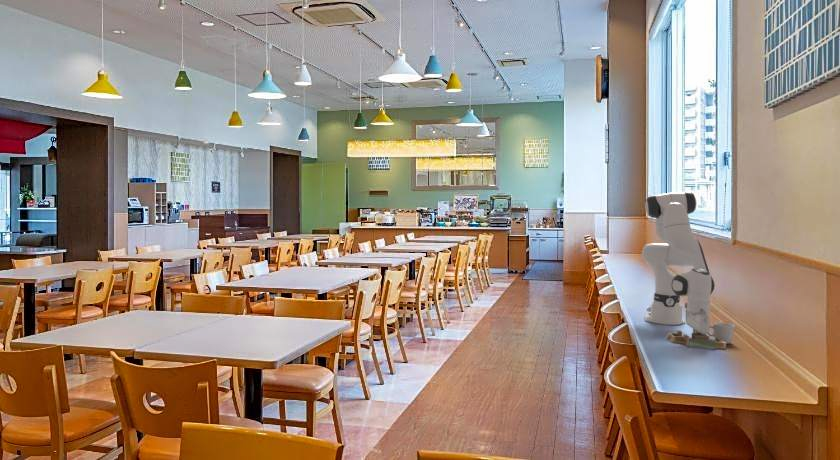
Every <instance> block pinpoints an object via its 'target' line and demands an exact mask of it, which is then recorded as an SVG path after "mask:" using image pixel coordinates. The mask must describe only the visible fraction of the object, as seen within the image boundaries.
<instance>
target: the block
mask: <svg viewBox="0 0 840 460" xmlns="http://www.w3.org/2000/svg"><path fill="white" fill-rule="evenodd" d="M707 335H708V334H707ZM707 335H706V334H701V333H693V332H691V336H690V338H692V339H708V336H709V335H708V336H707Z"/></svg>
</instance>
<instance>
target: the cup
mask: <svg viewBox="0 0 840 460" xmlns="http://www.w3.org/2000/svg"><path fill="white" fill-rule="evenodd" d="M735 326H736V325H735V324H732V323H729V322H728V323H727V322H715V323H714V324H711V325H710V329H711V328H712V329H713V333H710V332H709V333H708V334H707V335H708V336H710V337H712V338H715V339H721V340H723V341H724V342H726V345H729V344H732V342H733V339H734V333H735Z"/></svg>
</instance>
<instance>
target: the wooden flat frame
mask: <svg viewBox="0 0 840 460" xmlns="http://www.w3.org/2000/svg"><path fill="white" fill-rule="evenodd" d="M706 335H707V336H708V339H692V338H691V336H689V335H688V334H685V333H684V334H683V331H682V330H680V329H679V330H678V329H677V331H676V332H667V337H666V338H667V340H669V341H670V342H671V343H673V344H684V345H685V346H687V347H688V348H692V349H693V348H694V349H709V350H710V349H711V350H712V349H713V350H716V349H722V350H723V349H725V350H726V349H727V344H726V342H724V341H723V340H721V339H715V337H712V338H710V337H711V336H709V335H708V334H706Z"/></svg>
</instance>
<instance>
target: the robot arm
mask: <svg viewBox="0 0 840 460" xmlns="http://www.w3.org/2000/svg"><path fill="white" fill-rule="evenodd" d="M696 198H697V197H696V196H695V194H694V193H693V192H692V191H673V192H667V193H661V194H656V195H655V194H654V195H653V194H652V195H649V196H648V197H647V198H646V201H645V204H644V209H645V212H646V214H647V216H649V217H650V218H653V219H655V233H656V236H657V237H658V238H659V239H660V240H661V241H663V242H664V243H661V242H651V243H646V244H645V245H644V246H643V248H642V250H641V258H642V260H643V261H644V263H645V264H647V265H648V266H649V268H650V269H651V271H652V272H653V276H654V282H655V289H654V293H653V301H652V303H651V304H650V305H649V306H647V307H646V312H647V313H648V314H644V318H645V322H650V323H654V324H658V325H659V324H660V325H668V326H671V325H673V326H674V325H675V326H677V325H681V324H682V325H683V324H686V325H687V326H689V328H691V329H692V333H701V334H707V335H708V333H710V329H711V328H710V324H711V323H710V322H711V321H710V316H709V313H710V312H711V294H713V292H714V290H715V287H716V286H715V285H716V284H715V280H714V279H713V277H712V274H711V272H710V269H709V267H708V264H707V260H706V257H705V254H704V250H703V247H702V245H701V243H700V241H699V240H698V238H697V237H695V235H694V233H693V231H692V228H691V223H690V218H689V215H690V214H692V213H694V212H695V211H696V208H697V199H696ZM668 267H675V268H676V267H677V268H687V267H692V269H690V270H689V271H687V272H684V273H680V274H674V273H672V272H671V271H669V269H668ZM681 297H687V302H685V303H684V308H685V320H684V319H683V306H682V305H681V304H680V302H681V301H680V300H681Z"/></svg>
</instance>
